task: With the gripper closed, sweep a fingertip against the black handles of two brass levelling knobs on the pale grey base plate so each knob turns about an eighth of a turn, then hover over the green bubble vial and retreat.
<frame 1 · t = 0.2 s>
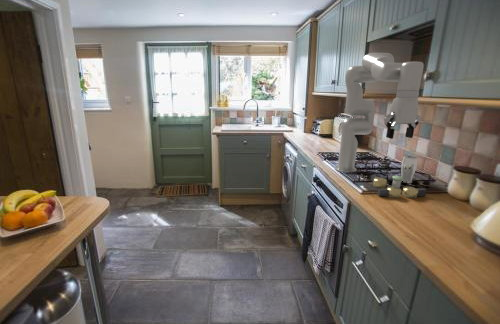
hand: (399, 137, 109), 30 cm above the worktop, fingers open, 9 cm apart
knob back: (414, 192, 122), point 3 cm above the worktop, hinge at 0.0°
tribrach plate: (393, 193, 128), on the worktop
knob front: (389, 192, 121), point 3 cm above the worktop, hinge at 0.0°
beer glass: (405, 183, 142), on the worktop
knob left: (377, 181, 135), point 3 cm above the worktop, hinge at 0.0°
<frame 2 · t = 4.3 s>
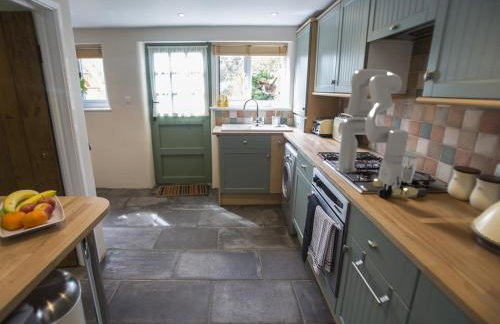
hand: (386, 197, 119), 2 cm above the worktop, fingers closed
knob front: (389, 192, 121), point 3 cm above the worktop, hinge at -0.9°, touching gripper
everything else where it was.
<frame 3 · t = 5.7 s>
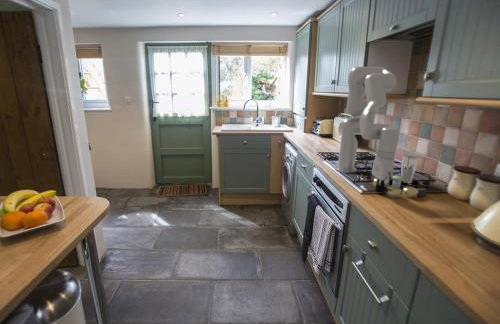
hand: (379, 191, 124), 2 cm above the worktop, fingers closed
knob front: (389, 190, 123), point 3 cm above the worktop, hinge at -61.1°
everything else where it was.
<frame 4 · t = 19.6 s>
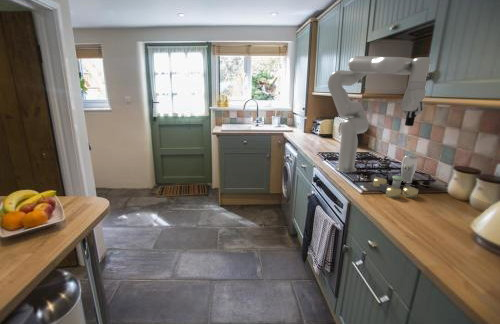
hand: (408, 125, 127), 32 cm above the worktop, fingers closed
knob back: (408, 190, 124), point 3 cm above the worktop, hinge at 70.3°
knob front: (389, 190, 123), point 3 cm above the worktop, hinge at -68.4°
everything else where it was.
at the end: knob front at -68° (first picture: +0°); knob back at +70° (first picture: +0°) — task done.
